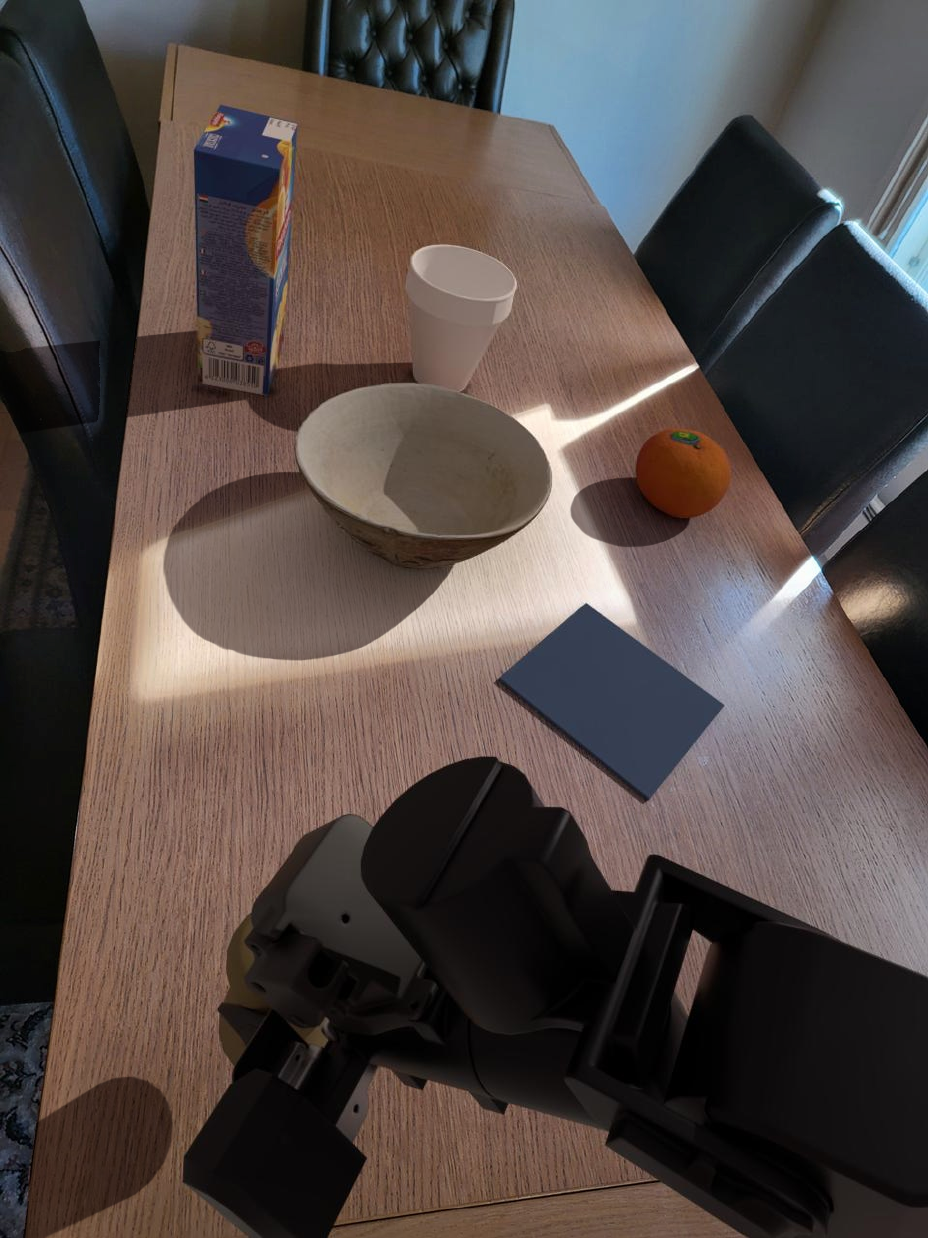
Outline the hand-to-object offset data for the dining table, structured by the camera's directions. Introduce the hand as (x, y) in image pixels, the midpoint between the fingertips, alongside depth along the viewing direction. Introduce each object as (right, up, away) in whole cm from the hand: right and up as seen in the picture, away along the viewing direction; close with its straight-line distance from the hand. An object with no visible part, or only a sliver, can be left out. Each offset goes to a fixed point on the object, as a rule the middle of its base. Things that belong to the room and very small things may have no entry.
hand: (258, 962), depth 40 cm
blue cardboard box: (-15, +46, +55) cm, 73 cm away
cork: (0, -5, +5) cm, 7 cm away
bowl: (+5, +26, +42) cm, 50 cm away
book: (+23, +10, +34) cm, 42 cm away
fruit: (+33, +30, +55) cm, 71 cm away
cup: (+7, +46, +61) cm, 77 cm away
